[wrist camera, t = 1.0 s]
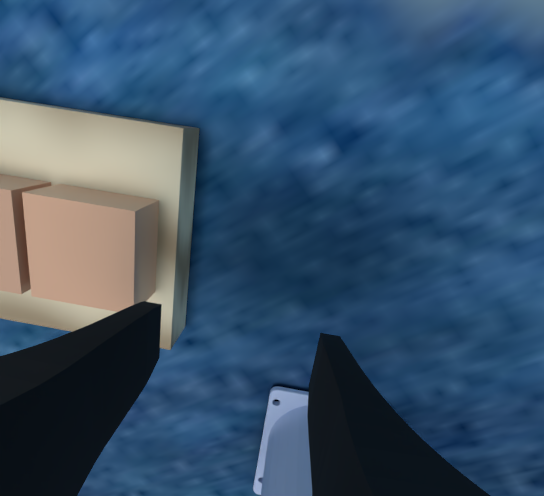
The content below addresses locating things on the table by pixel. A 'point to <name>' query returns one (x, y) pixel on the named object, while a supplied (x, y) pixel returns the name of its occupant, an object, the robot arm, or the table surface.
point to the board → (113, 178)
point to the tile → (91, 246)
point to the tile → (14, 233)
